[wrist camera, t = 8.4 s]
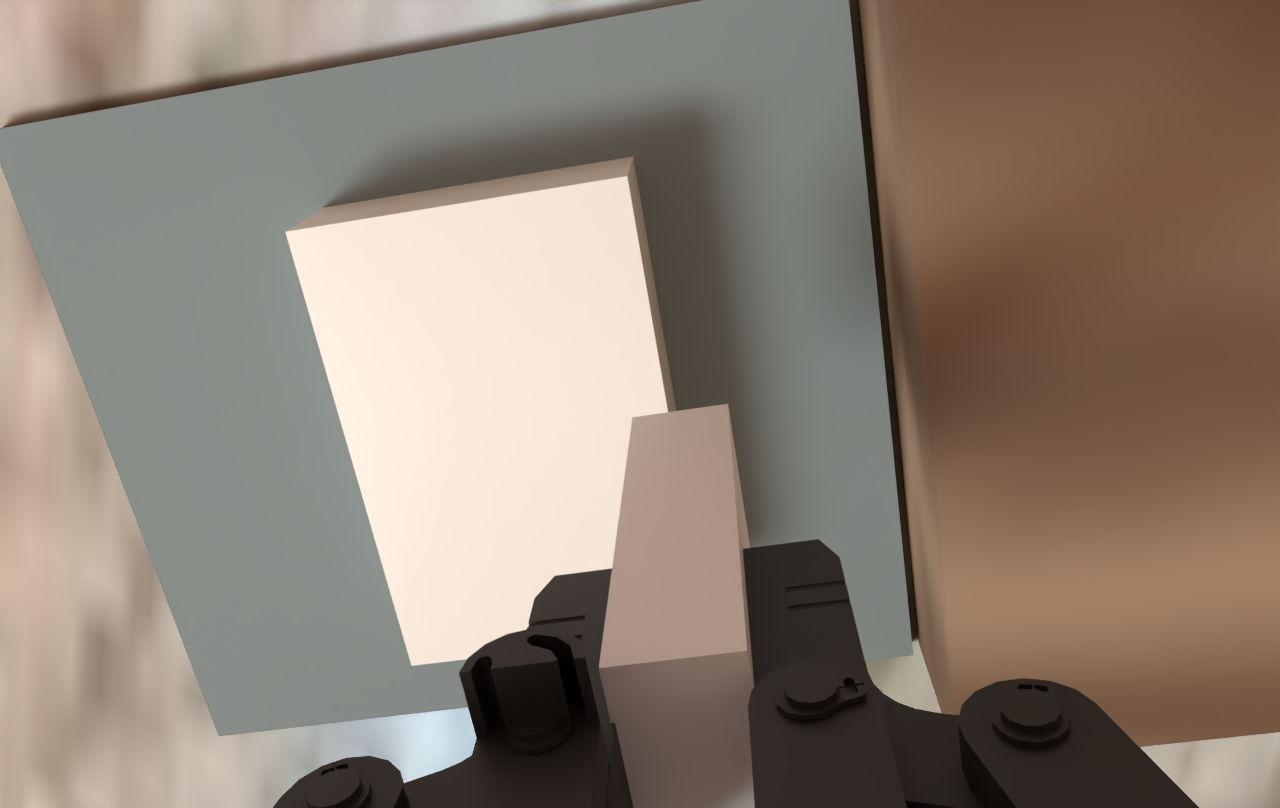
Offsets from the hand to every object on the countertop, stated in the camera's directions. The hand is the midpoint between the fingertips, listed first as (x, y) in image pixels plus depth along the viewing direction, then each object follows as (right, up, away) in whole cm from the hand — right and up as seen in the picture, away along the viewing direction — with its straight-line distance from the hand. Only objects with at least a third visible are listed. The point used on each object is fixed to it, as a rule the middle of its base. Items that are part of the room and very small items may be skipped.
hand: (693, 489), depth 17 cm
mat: (-4, +1, +5) cm, 7 cm away
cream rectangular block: (-3, +1, +3) cm, 4 cm away
